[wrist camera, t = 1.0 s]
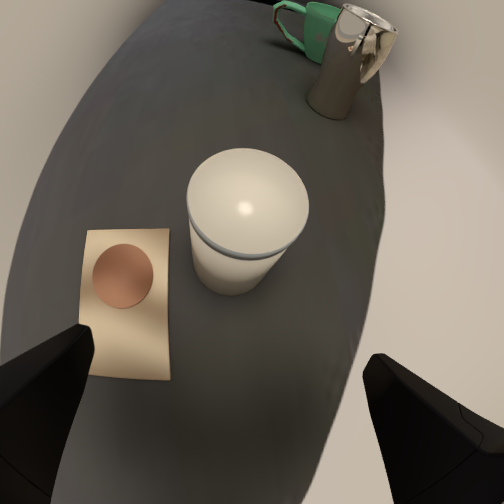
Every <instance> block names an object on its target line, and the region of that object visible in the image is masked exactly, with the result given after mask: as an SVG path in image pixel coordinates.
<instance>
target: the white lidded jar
mask: <svg viewBox="0 0 504 504" xmlns="http://www.w3.org/2000/svg"><path fill="white" fill-rule="evenodd" d="M187 211H188V216H189V223H190V234H191V245H192V255H193V264H194V269H195V272H196V274H197V276H198V278H199V279H200V281H201V282H202V283H203V284H204V285H205V286H206V287H207V288H208V289H210V290H212V291H213V292H216V293H218V294H221V295H227V296H235V295H240V294H243V293H246V292H248V291H250V290H251V289H253V288H254V287H255V286H256V285H257V284H258V283H259V282H260V281H261V279H262V278H263V277H264V276H265V275H266V273H267V272H268V271H269V270H270V269H271V267H272V266H273V265H274V264H275V262H276V261H277V260H278V259H279V257H280V256H281V255H282V254H283V253H284V251H285V250H286V249H287V248H288V247H289V246H290V245H291V244H292V243H293V242H294V241H295V239H296V238H297V237H298V236H299V234H300V233H301V232H302V230H303V228H304V226H305V224H306V221H307V218H308V213H309V202H308V196H307V192H306V189H305V187H304V184H303V183H302V181H301V179H300V177H299V176H298V175H297V173H296V172H295V171H294V170H293V169H292V168H291V167H290V166H289V165H288V164H286V163H285V162H284V161H282V160H281V159H279V158H277V157H276V156H274V155H271V154H269V153H266V152H263V151H260V150H255V149H247V148H239V149H231V150H226V151H223V152H220V153H217V154H215V155H213V156H212V157H210V158H208V159H207V160H206V161H204V162H203V163H202V164H201V165H200V166H199V167H198V168H197V169H196V171H195V172H194V174H193V175H192V177H191V179H190V181H189V185H188V188H187Z"/></svg>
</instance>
